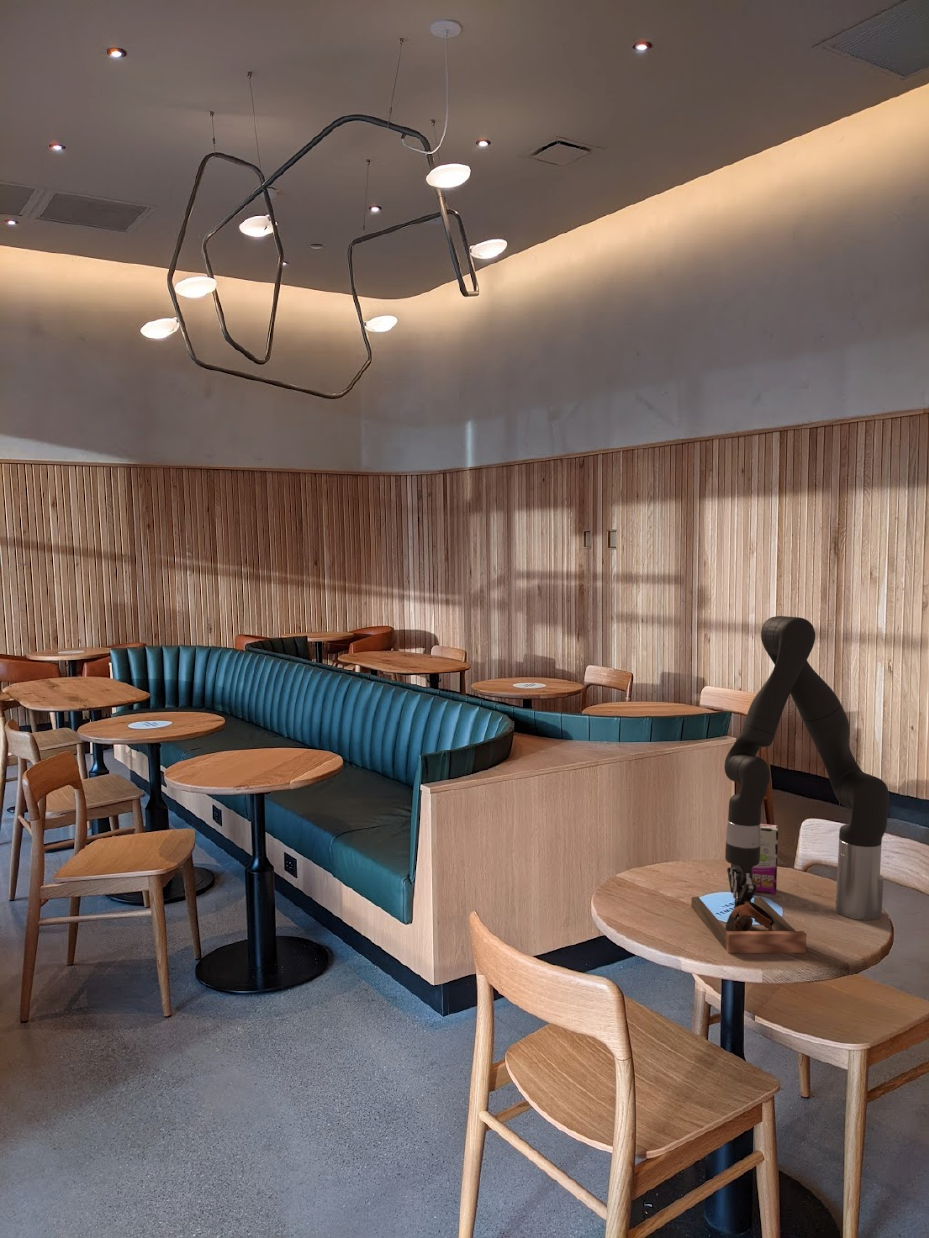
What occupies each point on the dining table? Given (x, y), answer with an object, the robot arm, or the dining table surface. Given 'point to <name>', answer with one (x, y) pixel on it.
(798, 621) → the robot arm
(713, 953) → the dining table surface
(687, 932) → the dining table surface
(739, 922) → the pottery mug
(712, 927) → the bay
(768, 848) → the candy bar box
